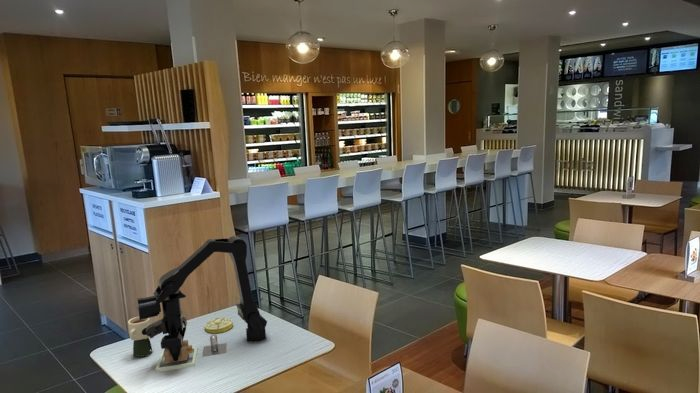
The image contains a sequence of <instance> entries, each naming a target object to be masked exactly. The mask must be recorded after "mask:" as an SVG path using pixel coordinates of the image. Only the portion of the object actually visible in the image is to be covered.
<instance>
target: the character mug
mask: <svg viewBox="0 0 700 393" xmlns="http://www.w3.org/2000/svg"><path fill="white" fill-rule="evenodd" d="M150 324H151V319H150V318H146V319H142V320H139V317H138V316H136V317H132V318H130V319H129V320H128V321H127V325H128V332H129V334H128V335H129V338H130V340H131V341H133V342H132V344H133V345H132V346H133V348H132V355H133V356H135V357H146V356H148V355H150V354H151V352H153V348H152V343H151V340H150V339H151V338H150V337H149V336H147V333H146V329H147V327H148V326H149V325H150Z"/></svg>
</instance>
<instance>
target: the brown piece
mask: <svg viewBox="0 0 700 393" xmlns="http://www.w3.org/2000/svg"><path fill="white" fill-rule="evenodd" d="M193 348H194V347H193V345H192V344H189V340H188V339H185V340H184V339H183V343H182V347H181V350H180V354H179V357H178V361H174V360H173V358H172V355H171V353H170V351H169V349H167V348H165V349H163V352H164V357H163V360H164V364H170V363H179V362H182V361H183V362H185V361H187V360H188V358H189V354H190V355H191V354H193V353H194V352H193Z"/></svg>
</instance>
